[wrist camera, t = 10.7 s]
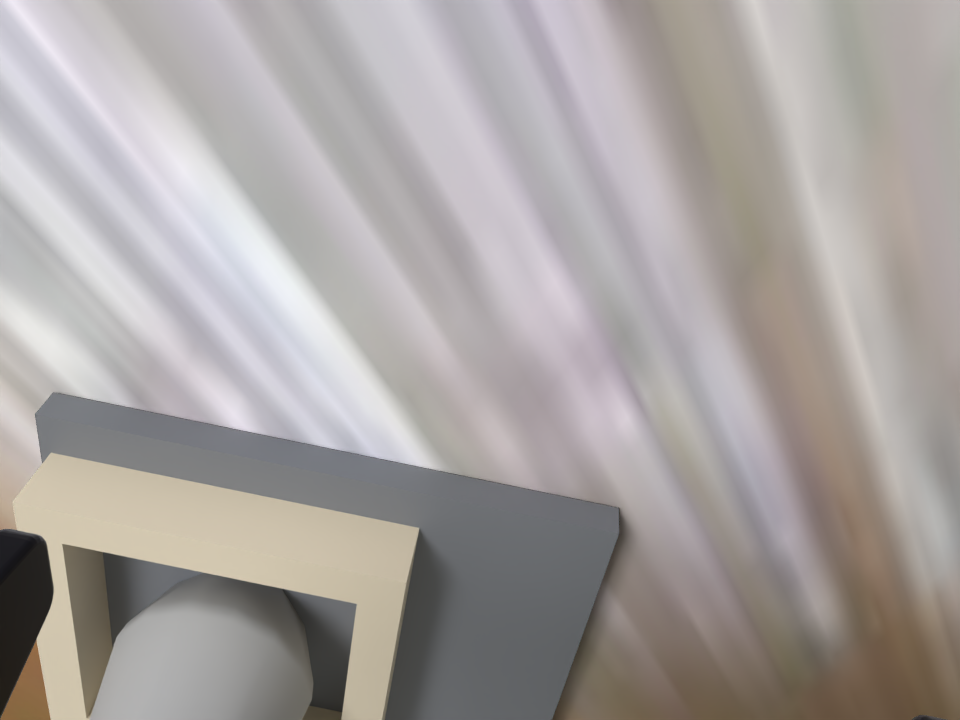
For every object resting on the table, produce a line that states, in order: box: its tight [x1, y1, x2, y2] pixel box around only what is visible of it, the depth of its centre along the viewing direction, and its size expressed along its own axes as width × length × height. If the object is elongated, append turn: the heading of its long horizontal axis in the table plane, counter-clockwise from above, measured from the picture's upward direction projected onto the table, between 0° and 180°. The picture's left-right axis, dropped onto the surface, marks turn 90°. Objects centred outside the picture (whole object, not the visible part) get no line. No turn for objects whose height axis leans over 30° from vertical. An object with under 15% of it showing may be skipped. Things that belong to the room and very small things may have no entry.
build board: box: [12, 392, 619, 720], centre depth 28 cm, size 16×13×3 cm
